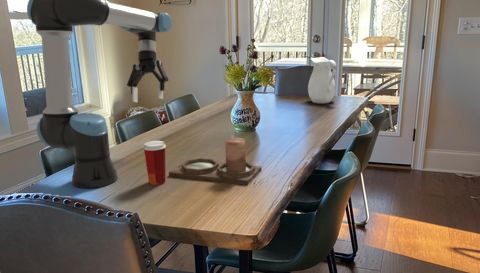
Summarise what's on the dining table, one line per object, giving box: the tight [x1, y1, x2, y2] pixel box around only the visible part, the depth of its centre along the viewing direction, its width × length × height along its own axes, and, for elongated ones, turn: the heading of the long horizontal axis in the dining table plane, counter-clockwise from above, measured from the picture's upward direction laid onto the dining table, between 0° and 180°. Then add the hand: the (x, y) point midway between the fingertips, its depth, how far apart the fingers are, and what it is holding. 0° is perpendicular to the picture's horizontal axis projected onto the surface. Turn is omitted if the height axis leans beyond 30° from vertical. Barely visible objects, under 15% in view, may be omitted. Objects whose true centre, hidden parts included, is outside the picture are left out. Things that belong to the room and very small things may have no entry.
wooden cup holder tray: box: [168, 137, 262, 186], centre depth 160 cm, size 15×30×13 cm, turn 69°
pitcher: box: [307, 56, 338, 104], centre depth 278 cm, size 24×17×28 cm
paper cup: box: [142, 140, 167, 186], centre depth 153 cm, size 8×8×14 cm
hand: (147, 100), depth 191 cm, fingers open, 13 cm apart
